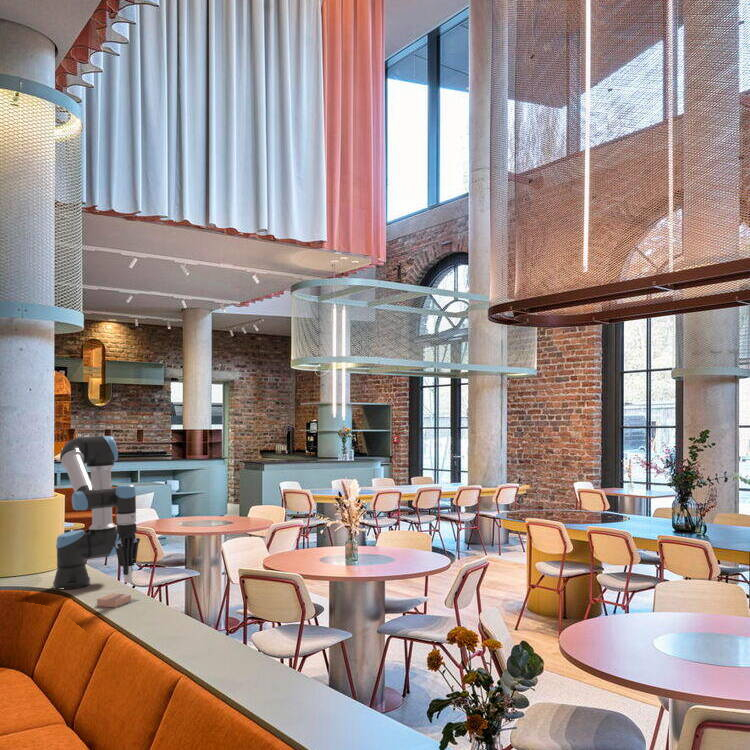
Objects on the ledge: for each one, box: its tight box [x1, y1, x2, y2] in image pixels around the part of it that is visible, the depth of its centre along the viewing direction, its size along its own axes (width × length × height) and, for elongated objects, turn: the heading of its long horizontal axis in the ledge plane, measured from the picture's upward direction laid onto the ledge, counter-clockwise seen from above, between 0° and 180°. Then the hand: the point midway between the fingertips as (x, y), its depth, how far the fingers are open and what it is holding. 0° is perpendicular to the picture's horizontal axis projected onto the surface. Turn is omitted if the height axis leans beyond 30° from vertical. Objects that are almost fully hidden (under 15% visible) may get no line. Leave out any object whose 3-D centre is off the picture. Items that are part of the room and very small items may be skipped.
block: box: [96, 593, 132, 609], centre depth 310 cm, size 3×9×9 cm
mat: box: [94, 598, 140, 609], centre depth 312 cm, size 12×12×1 cm
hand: (128, 582), depth 318 cm, fingers closed
